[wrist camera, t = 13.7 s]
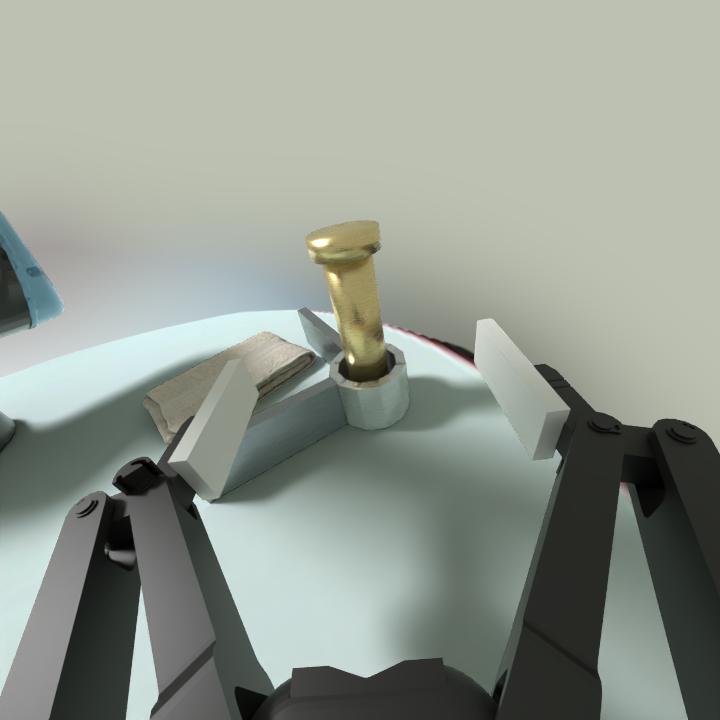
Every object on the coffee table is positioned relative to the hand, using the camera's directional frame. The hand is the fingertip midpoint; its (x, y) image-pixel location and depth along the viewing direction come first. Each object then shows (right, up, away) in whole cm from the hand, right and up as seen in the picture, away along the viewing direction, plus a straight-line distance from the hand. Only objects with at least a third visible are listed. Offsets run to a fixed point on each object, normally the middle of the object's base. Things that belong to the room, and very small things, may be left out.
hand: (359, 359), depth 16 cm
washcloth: (-15, -4, +20) cm, 25 cm away
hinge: (-7, -4, +15) cm, 17 cm away
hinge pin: (+1, -4, +12) cm, 13 cm away
